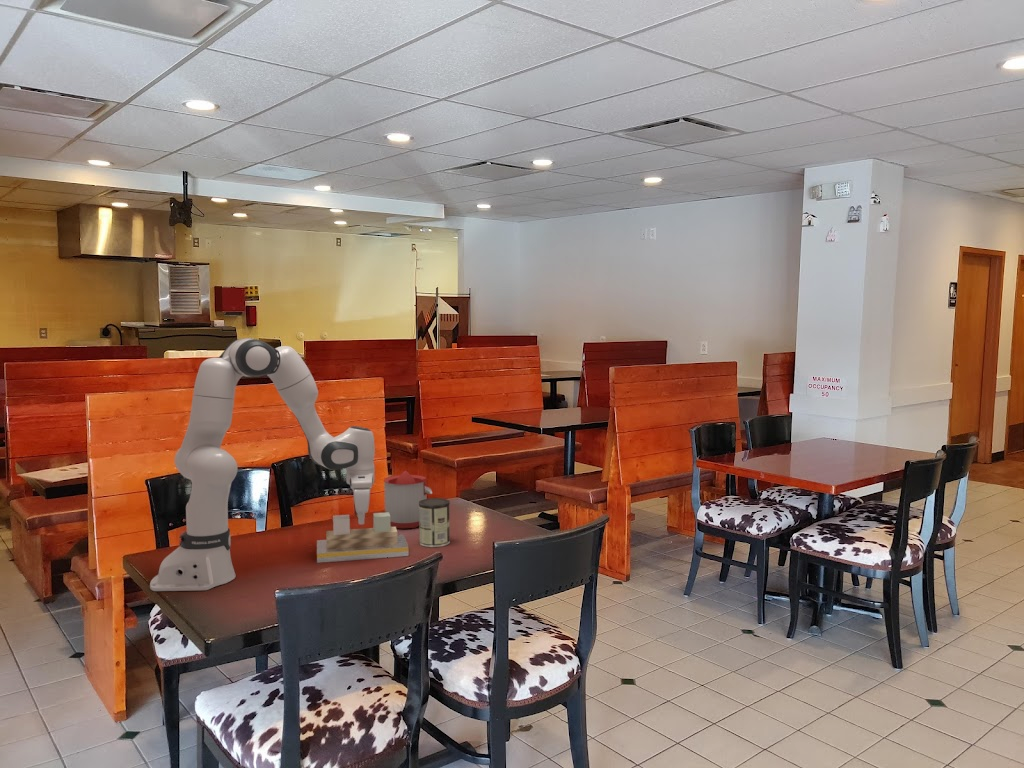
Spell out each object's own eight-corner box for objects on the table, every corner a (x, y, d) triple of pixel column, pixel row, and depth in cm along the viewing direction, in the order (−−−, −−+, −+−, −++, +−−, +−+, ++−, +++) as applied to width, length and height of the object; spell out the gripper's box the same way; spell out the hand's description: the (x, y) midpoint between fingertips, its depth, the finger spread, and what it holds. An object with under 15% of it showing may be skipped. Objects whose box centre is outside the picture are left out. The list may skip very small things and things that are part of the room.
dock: (317, 563, 234) (316, 553, 234) (317, 549, 248) (317, 540, 248) (408, 556, 241) (408, 546, 241) (403, 543, 255) (403, 534, 255)
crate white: (333, 535, 240) (333, 519, 239) (333, 530, 244) (333, 515, 244) (349, 534, 241) (349, 518, 240) (349, 529, 246) (349, 514, 245)
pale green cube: (374, 532, 243) (374, 517, 242) (373, 528, 247) (373, 513, 247) (390, 531, 244) (390, 516, 243) (389, 527, 249) (388, 512, 248)
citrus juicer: (429, 531, 269) (428, 475, 267) (380, 530, 270) (379, 475, 268) (435, 519, 285) (434, 466, 283) (388, 519, 285) (387, 466, 283)
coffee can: (431, 536, 262) (430, 496, 261) (455, 541, 257) (455, 500, 256) (412, 544, 254) (412, 502, 252) (437, 549, 248) (437, 506, 247)
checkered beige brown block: (326, 548, 239) (326, 536, 238) (326, 543, 245) (326, 531, 244) (397, 543, 244) (397, 531, 244) (395, 538, 250) (395, 526, 250)
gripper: (349, 471, 252) (349, 512, 253) (351, 484, 232) (351, 528, 233) (368, 470, 253) (368, 511, 254) (372, 483, 233) (372, 527, 234)
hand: (360, 520), depth 243 cm, fingers open, 8 cm apart
